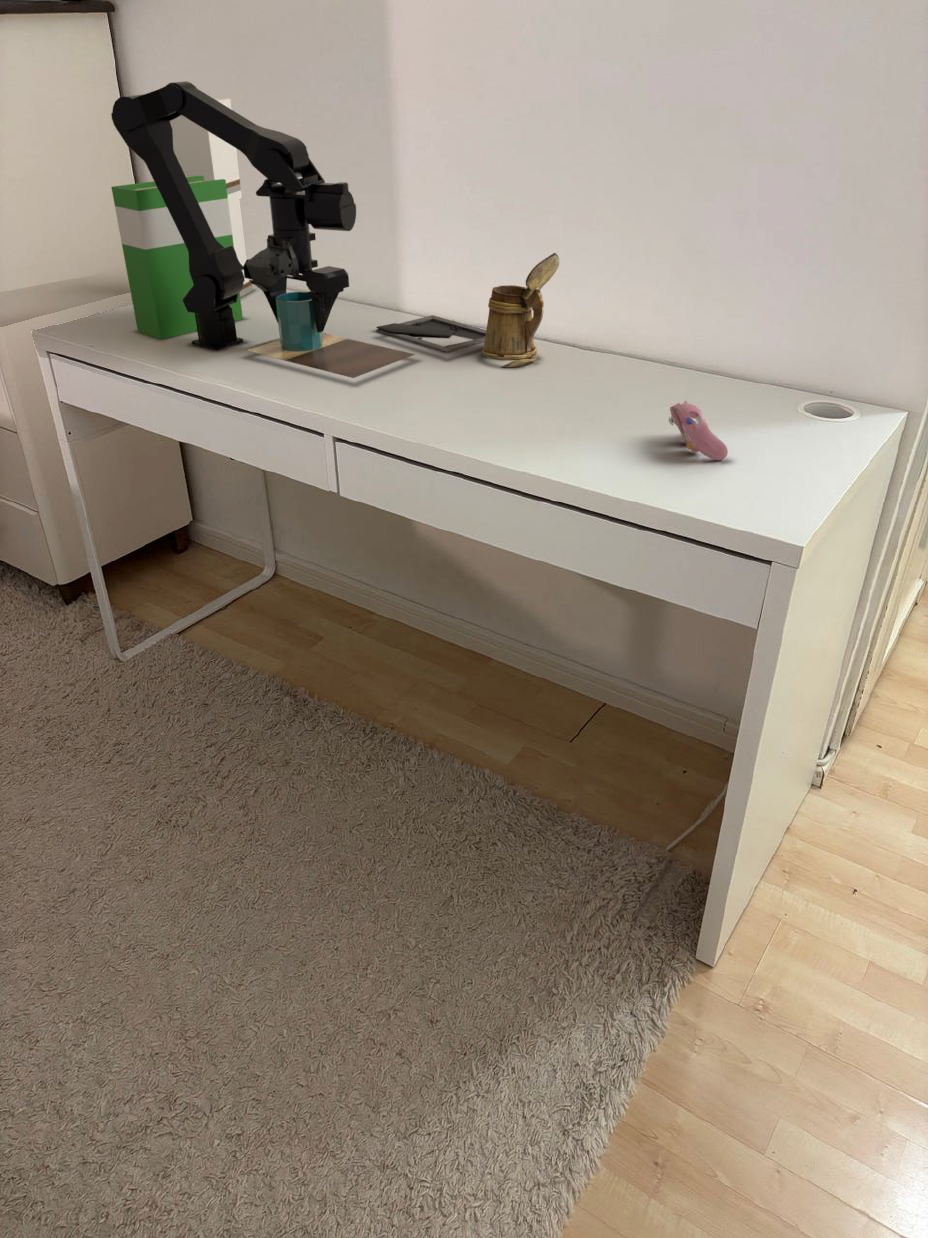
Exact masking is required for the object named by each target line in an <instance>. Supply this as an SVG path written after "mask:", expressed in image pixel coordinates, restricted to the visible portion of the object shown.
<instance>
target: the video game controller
mask: <svg viewBox="0 0 928 1238" xmlns="http://www.w3.org/2000/svg"><path fill="white" fill-rule="evenodd" d="M669 411H670V415H671V416H668V422H669V424H670V425H672V426H674V425H675V426H676V427H677V429H678V431H679V433H680V435H681V436H682V439H683V441H684V442H685V444H686V448H687V449H688V450H690V451H691V452H692V454H693V455H695V454H697V453H701V454H702V455H704V456H705V457H707V458H709V459H711V460H713V461H723V460H725V459H726V458H727V456H728V452H729V450H728V447H727V445H726V444H725V442H723V441H722V440H721V439H719V438H718V436H716V435H715V434H714V433H713V431H711V430H710V428H709V425H708V423H707V421H706V419H704V418H703V414H702V410H701V409H700V408H699V407H698V406H697V405H695V404H692V403H688V401H687V400H684V402H678V403H676V404H674V405H671V406H670V407H669Z"/></svg>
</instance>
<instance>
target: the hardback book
mask: <svg viewBox="0 0 928 1238" xmlns="http://www.w3.org/2000/svg"><path fill="white" fill-rule="evenodd" d="M186 178H187V180H188V182H189V185H190V187H191V189H192V191H193V193H194V195H195V197H196V199H197V201H198V204H199V206H200V208H201V210H202V212H203V214H204V216H205V218H206V220H207V223H208V225H209V227H210V229H211V231H212V233H213V235H214V237H215V239H216V240H217V241H218V242H219V243H220V244H221V245H222V246H223V247H224V248H226V247H229V246H233V248H234V244H233V236H232V228H231V220H230V212H229V204H228V196H227V188H226V180H225V179H219V180H212V181H204V176H194V177H186ZM111 193H112V198H113V204H114V210H115V214H116V219H117V220H116V221H117V226H118V232H119V236H120V242H121V247H122V252H123V258H124V264H125V268H126V269H125V270H126V275H127V279H128V285H129V290H130V296H131V301H132V307H133V313H134V318H135V323H136V328H137V332H138V333H141V334H144V335H147V336H150V337H153V338H155V339H158V340H164V339H168V338H173V337H176V336H181V335H184V334H188V333H193V332H197V326H196V319H195V313H192V312H188V311H187V309H186V307H185V305H184V303H183V298H184V297H185V296H186V295H187V293H188V292H189V291H190V289H191V288H192V287H193V285H194V284H193V281H192V278H191V275H190V272H189V253H188V250H187V247H186V245H185V243H184V241H183V239H182V237H181V235H180V233H179V231H178V229H177V227H176V225H175V223H174V221H173V219H172V217H171V215H170V213H169V210H168V208H167V206H166V204H165V202H164V200H163V198H162V196H161V194H160V192H159V190H158V188H157V186H156V184H155V182H154V180H153V181H146V182H138V183H130V184H123V185H122V184H121V185H114V186H113V185H112V186H111ZM230 307H231V308H232V311H233V317H234V319H235V322H238V321H243V320H244V317H243V310H242V300H241V297H240V292H239V295H238V300H237V302H236V303H233V304H230Z"/></svg>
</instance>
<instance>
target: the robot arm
mask: <svg viewBox="0 0 928 1238" xmlns="http://www.w3.org/2000/svg"><path fill="white" fill-rule="evenodd" d="M213 98H214V97H212V96H210V95H209V94H206V93H205V92H203V91H201V90H200V89H199V88H197V86H196V85H194V83H192V82H189V81H185V80H184V81H176V82H175V81H174V82H169V83H168V84H166V85H165V86H163V87H160V88H159V89H156V90H152V91H150V92H147V93H144V94H133V95H127V96H126V95H125V96H121V97H118V98H117V99H116V100H115V101H114V103H113V106H112V112H111V114H110V116H111V120H112V124H113V126H114V127H115V130H116V131H117V132H118V134H119V135H120V137H121V139H122V140H123V142H124V144H126V146H127V147H128V148H129V149H130V150H131V151H132V152H133V153H134V154H135V155H136V156H137V157H139V159H141V160H142V161H143V162H144V164H145V165H146V168H147V170H148V172H149V174H150V175H151V177H152V180H153V181H154V182H155V184H156V186H157V188H158V190H159V192H160V194H161V196H162V198H163V200H164V202H165V204H166V206H167V208H168V210H169V213H170V215H171V217H172V219H173V221H174V223H175V225H176V227H177V229H178V231H179V233H180V235H181V237H182V239H183V241H184V243H185V245H186V247H187V250H188V253H189V272H190V275H191V278H192V281H193V284H194V285H193V287H192V288H191V289H190V291H189V292H188V293H187V295H186V296H185V297H184V298H183V303H184V305H185V307H186V309H187V311H188V312H192V313H195V319H196V326H197V331H196V333H197V339H193V340H191V344H192V345H194V346H198V347H200V348H204V349H205V348H206V349H208V350H209V349H210V350H212V351H218V350H222V349H225V348H228V347H232V346H234V345H238V344H242V343H244V338H242V337H238V335H237V329H236V328H237V326H236V321H235V319H234V317H233V311H232V308H231V307H230V304H233V303H236V302H237V300H238V295H239V292H240V291H241V289H242V288H243V284H244V281H245V280H244V277H245V278H247V279H249V280H251V281H250V282H251V283H252V285H254V286H256V287H257V288H258V289H260V290H261V291H262V292H263V295H264V296H265V298H266V301H267V302H268V304H269V306H270V309H271V311H272V313H273V316H274V318H275V320H276V322H277V324H278V316H277V307H276V297H277V296H278V295H280V294H284V293H287V287H288V279H290V280H295V281H300V282H305V286H306V287H307V289H308V290H309V291H305V292H306V294H307V295H308V296H309V297H310V298H311V299H312V301H313V308H314V316H315V324H316V328H317V332H319V333H320V332H324V331H325V328H326V325H327V322H328V320H329V317H330V314H331V311H332V309H333V306H334V304H335V302H336V300H337V298H338V296H339V294H340V293H342V292H344V291H345V289H346V288H350V279H349V276H350V275H349V273H348V272H347V270H345V268H341V267H335V266H330V265H327V266H324V267H320V268H318V267H319V263H318V259H313V257H312V255H313V254H312V245H311V242H313V241H316V239H317V238H316V232H311V231H310V226H311V227H312V229H314V230H321V231H324V230H325V231H338V232H340V231H341V232H351V231H352V230H353V228H354V226H355V224H356V219H357V204H356V203H355V200H354V196H353V195H352V193H351V192H350V191H349V183H348V182H343V181H341V182H340V181H339V182H326V181H325V179H324V178H323V176H322V175H321V174H320V172H319V170H318V169H317V168H316V166H315V164H314V163H313V162H312V160H311V158H310V157H309V152H308V150H307V149H308V148H307V145H305V142H303V141H302V140H300V139H299V138H297V137H295V136H292V135H290V134H286V133H284V132H282V131H278V130H274V129H270V128H266V127H263V126H261V125H257V124H256V123H254V122H253V121H251V120H249V119H248V118H246V117H244V115H241V114H240V113H238V112H236V111H235V110H234V109H232V110H231V109H230V108H228V107H226V106H225V105H223V104H221V103H220V102H218V101H217V100H215V99H213ZM181 115H182V116H184V117H186V118H187V119H189V120H191V121H192V122H194V123H195V124H197V125H199V126H200V127H202V128H204V129H205V130H207V131H209V132H210V133H212V134H214V135H215V136H217V137H218V138H220V139H222V140H223V141H225V142H227V143H228V144H230V145H232V146H233V147H235V148H236V150H238V151H239V152H240V153H242V154H243V155H244V156H245V157H246V158H247V160H248V161H249V163H250V164H251V166H252V167H253V168H255V169H256V170H257V171H258V172H259V173H260V174H262V176H263V177H265V179H264V180H263V183H262V185H261V186H260V187H258V189H257V190H256V191H255V195H256V196H257V197H267V198H268V197H269V206H270V216H271V226H272V234H269V235H267V238H266V248H264V249H262V250H260V251H259V252H257V253H256V254H255V255H253V256H252V257H251V258H248V259H247V258H246V259H247V260H246V262H245V264H244V266H242V265H241V263H240V262H239V260H238V258H237V255H236V252H235V249H234V248H233V246H229V247H226V248H224V247H223V246H222V245H221V244H220V243H219V242H218V241H217V240H216V239H215V237H214V235H213V233H212V231H211V229H210V227H209V225H208V223H207V220H206V218H205V216H204V214H203V212H202V210H201V208H200V206H199V204H198V201H197V199H196V197H195V195H194V193H193V191H192V189H191V187H190V185H189V182H188V180H187V178H186V176H185V174H184V172H183V170H182V168H181V166H180V164H179V161H178V159H177V157H176V155H175V153H174V150H173V130H172V127H171V123H170V121H171V120H174V119H176V118H178V117H180V116H181ZM242 270H244V275H243V272H242Z"/></svg>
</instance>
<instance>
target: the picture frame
mask: <svg viewBox="0 0 928 1238" xmlns="http://www.w3.org/2000/svg"><path fill="white" fill-rule="evenodd" d="M376 333H379V334H383V335H386V336H390V337H393V338H395V339H398V340H402V341H406V342H409V343H412V344H416V345H418V346H421V347H425V348H428V349H431V350H435V351H439V352H440V353H441V352H442V353H444V354H449V353H453V352H457V351H459V350H464V349H467V348H470V347H474V346H477V345H481V344H484V343H485V336H486V329H485V328H481V327H477V326H473V325H469V324H466V323H462V322H459V321H455V320H451V319H448V318H443V317H440V316H436V315H434V314H431V315H427V316H424V317H420V318H416V319H415V318H414V319H412V320H408V321H403V322H400V323H396V322H394V323H388V324H383V325H378V326H376ZM411 335H418V336H430V337H431V336H432V337H444V338H451V337H452V336H456V337H460V338H464V339H469V340H467V341H462V342H458V343H453V344H449V345H441V344H438V343H434V342H431V341H428V340H424V339H423V337H416V336H415V337H414V336H411Z"/></svg>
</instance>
